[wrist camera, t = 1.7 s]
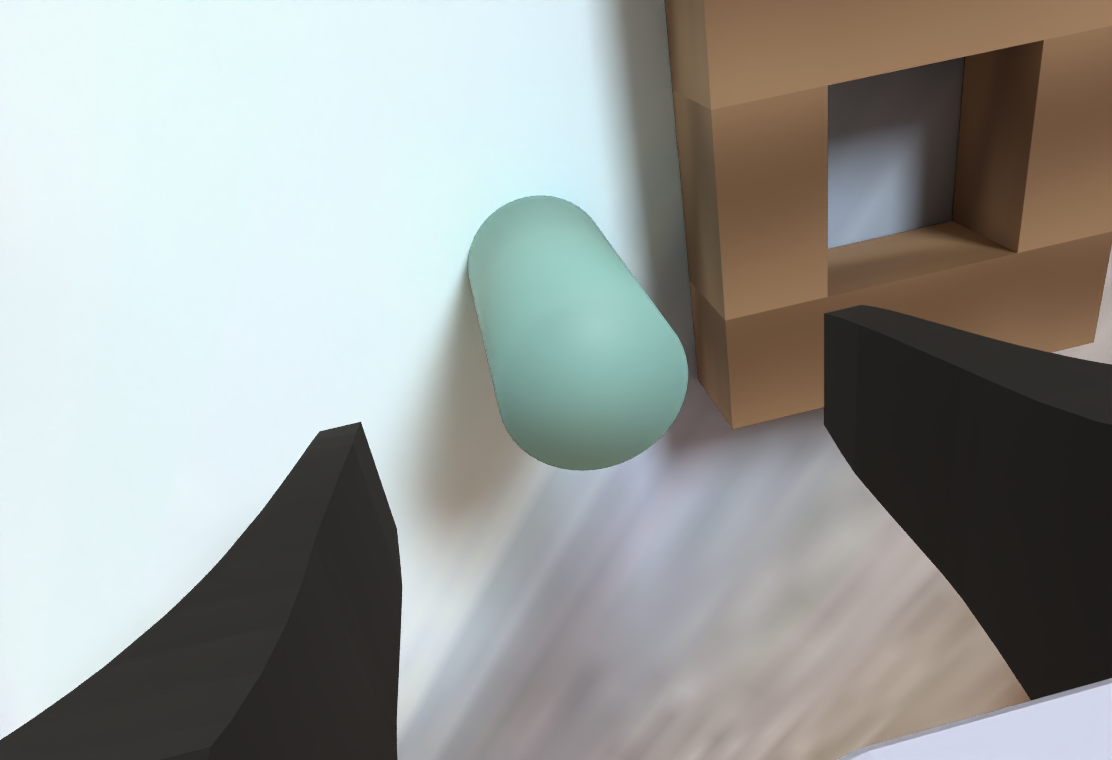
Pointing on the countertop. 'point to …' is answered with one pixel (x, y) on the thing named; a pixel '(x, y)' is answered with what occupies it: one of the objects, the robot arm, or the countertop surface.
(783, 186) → the socket board
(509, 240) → the peg
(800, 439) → the countertop surface
